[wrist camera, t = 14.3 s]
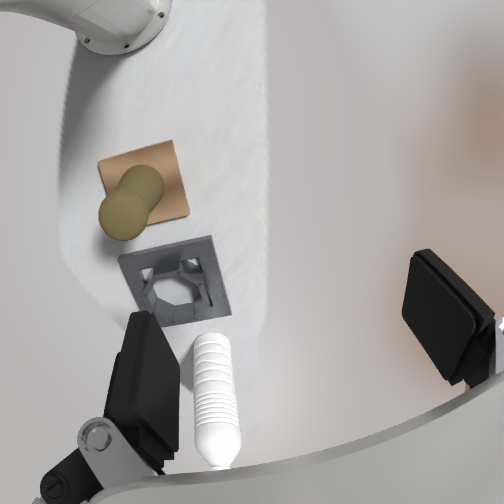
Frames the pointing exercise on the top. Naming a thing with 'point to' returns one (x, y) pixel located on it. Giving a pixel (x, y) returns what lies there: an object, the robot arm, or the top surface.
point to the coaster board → (165, 164)
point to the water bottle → (215, 402)
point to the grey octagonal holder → (175, 264)
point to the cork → (131, 202)
